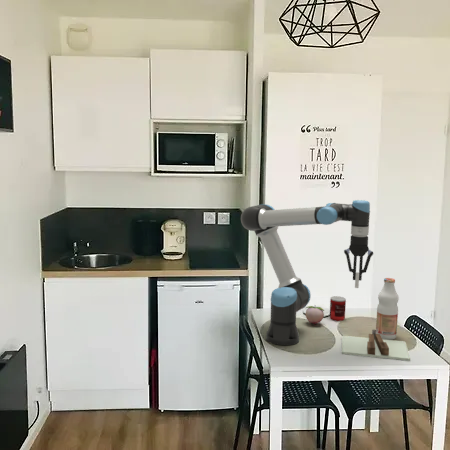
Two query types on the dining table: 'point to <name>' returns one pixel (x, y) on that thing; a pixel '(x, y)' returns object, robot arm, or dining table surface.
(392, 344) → the board
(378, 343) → the arm
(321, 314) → the decorative fruit
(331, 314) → the canned food
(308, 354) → the dining table surface
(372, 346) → the tongs fixed
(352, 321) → the dining table surface
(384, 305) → the fruit juice
